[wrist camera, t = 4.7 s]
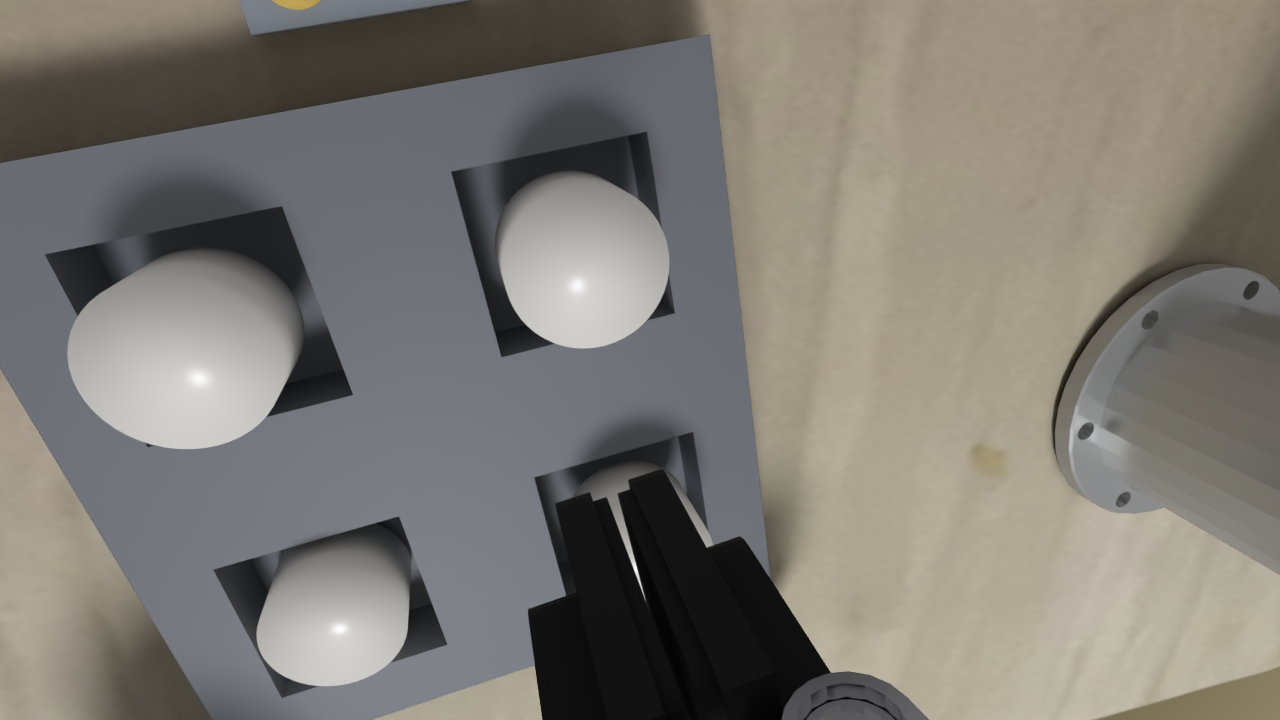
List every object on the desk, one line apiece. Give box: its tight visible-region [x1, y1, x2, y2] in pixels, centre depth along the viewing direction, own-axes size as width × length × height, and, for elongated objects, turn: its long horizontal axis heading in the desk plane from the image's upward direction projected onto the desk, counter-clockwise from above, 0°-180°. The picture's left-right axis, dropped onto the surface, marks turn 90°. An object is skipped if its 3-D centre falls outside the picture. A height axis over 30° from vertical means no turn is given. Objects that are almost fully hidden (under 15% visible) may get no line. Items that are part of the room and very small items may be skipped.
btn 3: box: [67, 247, 304, 449], centre depth 18 cm, size 4×4×3 cm
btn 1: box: [495, 170, 669, 349], centre depth 19 cm, size 4×4×3 cm
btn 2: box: [572, 461, 713, 601], centre depth 23 cm, size 4×4×3 cm
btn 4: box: [256, 523, 411, 686], centre depth 23 cm, size 4×4×3 cm
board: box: [0, 35, 771, 720], centre depth 23 cm, size 20×20×3 cm
